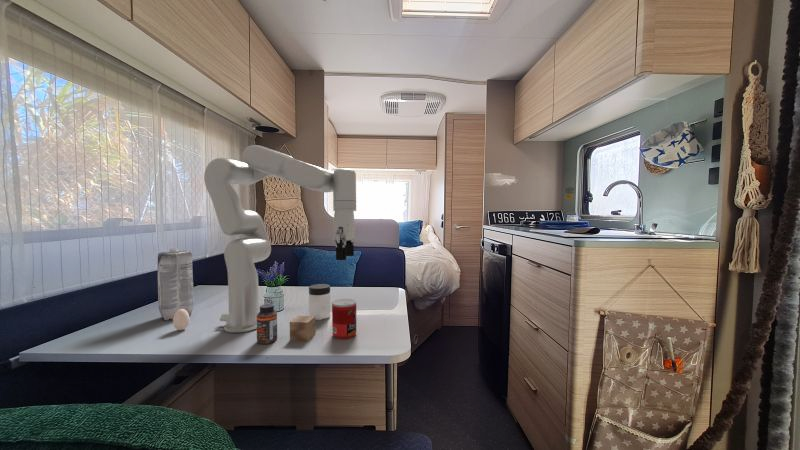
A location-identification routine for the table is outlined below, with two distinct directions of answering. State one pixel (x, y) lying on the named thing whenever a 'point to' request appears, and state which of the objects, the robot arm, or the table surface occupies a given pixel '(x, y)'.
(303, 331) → the walnut cube
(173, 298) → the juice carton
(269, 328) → the supplement bottle
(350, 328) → the canned food
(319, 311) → the jar
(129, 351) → the table surface
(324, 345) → the table surface
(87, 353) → the table surface
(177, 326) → the egg
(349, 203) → the robot arm
